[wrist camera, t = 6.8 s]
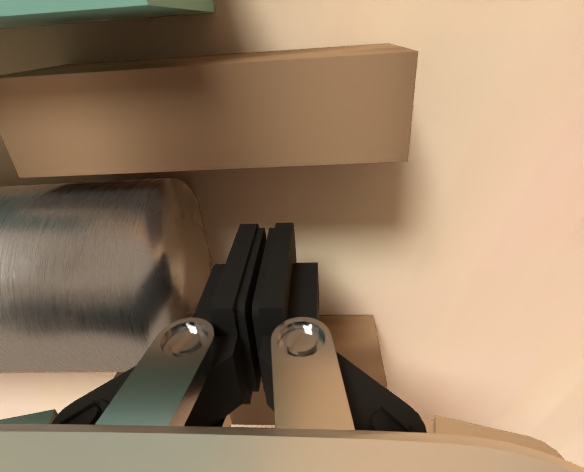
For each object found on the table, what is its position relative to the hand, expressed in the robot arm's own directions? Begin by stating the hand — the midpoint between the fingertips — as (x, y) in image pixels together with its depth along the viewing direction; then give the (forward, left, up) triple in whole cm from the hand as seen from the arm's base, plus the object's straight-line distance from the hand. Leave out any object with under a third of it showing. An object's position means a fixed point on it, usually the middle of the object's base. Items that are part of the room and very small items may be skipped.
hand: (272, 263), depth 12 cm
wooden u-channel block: (+1, 0, -2) cm, 3 cm away
